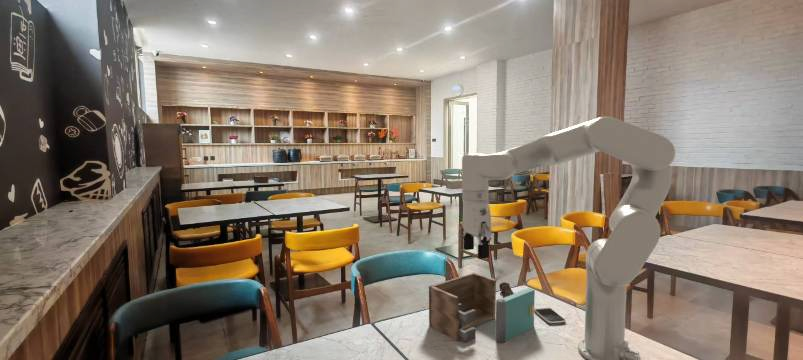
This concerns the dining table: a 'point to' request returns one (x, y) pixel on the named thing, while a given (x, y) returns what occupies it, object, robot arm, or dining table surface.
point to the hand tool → (506, 289)
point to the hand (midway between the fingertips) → (475, 253)
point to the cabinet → (462, 305)
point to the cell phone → (549, 316)
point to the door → (514, 314)
